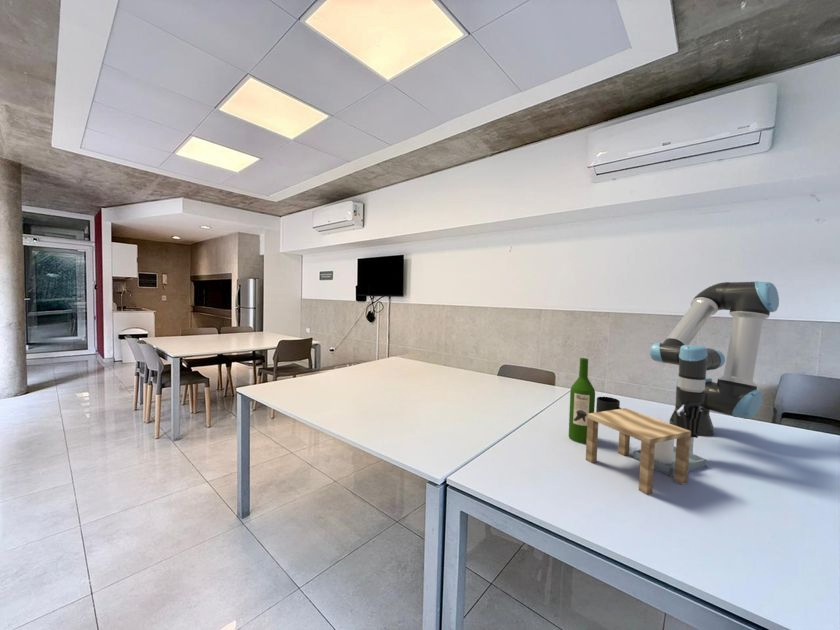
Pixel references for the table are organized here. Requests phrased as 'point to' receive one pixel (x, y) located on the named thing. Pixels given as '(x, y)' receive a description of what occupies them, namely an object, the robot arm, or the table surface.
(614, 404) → the mug
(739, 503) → the table surface
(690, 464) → the tray
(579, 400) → the wine bottle
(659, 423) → the small wooden table
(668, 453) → the beverage can
